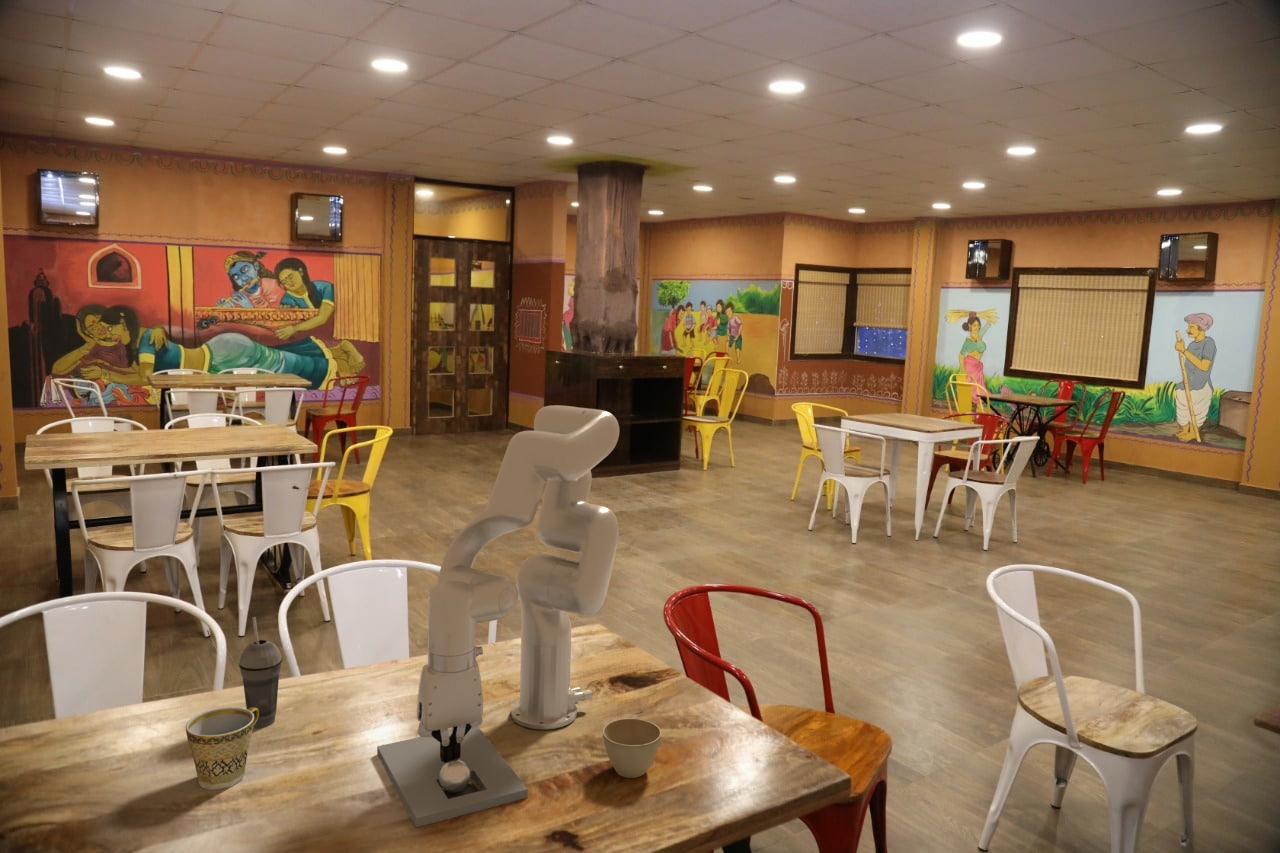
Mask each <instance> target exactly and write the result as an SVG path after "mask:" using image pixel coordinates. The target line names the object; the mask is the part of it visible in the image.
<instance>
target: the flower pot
mask: <svg viewBox="0 0 1280 853" xmlns="http://www.w3.org/2000/svg"><path fill="white" fill-rule="evenodd" d="M602 738H603V744H604V749H605V751H606V754H607V757H608V759H609V761H610V764H611V765H612V767H613V768H614V771H615V772H616V773H617V774H618V775H619V776H621V777H623V778H626V779H627V778H628V779H635V778H639V777H641V776H644V775H645V773H646V772H647V771H648V770H649V768H650V766H651V765H652V763H653V761H654V760H655V757H656V755H657V752H658V750H659V746H660V743H661V738H662V730H661V728H660V727H659V726H658V725H656V723H654V722H651V721H649V720H647V719H641V718H632V717H630V718H629V717H628V718H619V719H615V720H612V721H610V722H608V723H607V724H605V726H604V727H603V729H602Z"/></svg>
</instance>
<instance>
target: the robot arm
mask: <svg viewBox="0 0 1280 853" xmlns="http://www.w3.org/2000/svg"><path fill="white" fill-rule="evenodd" d="M619 436H620V425H619V422H618V420H617V418H616V417H615V415H613V414H612V413H611V412H609V411H607V410H603V409H598V408H597V409H596V408H586V407H577V406H569V405H558V404H557V405H556V404H555V405H547V406H543V407H542V408H539V409H538V411H537V412H536V414H535V416H534V420H533V430H523V431H520V432H517V433H516V434H514V435H513V436H512V438H510V441H509V442H508V445H507V448H506V450H505V453H504V457H503V459H502V462H501V465H500V467H499V471H498V474H497V476H496V480H495V482H494V485H493V488H492V491H491V494H490V496H489V499H488V502H487V504H486V506H485V508H484V510H483V511H481V512H480V513H478V515H476V516H475V517H473V519H471V520H470V521H469V522H468V523H467V524H466V525H464V526H463V527H462V529H461V530H460V531H459V532H458V533H457V534H456V535H455V537H453V539H452V541H451V543H449V546H448V548H447V550H446V552H445V555H444V558H443V561H442V563H441V567H440V570H439V573H438V575H437V576H438V577H437V578H436V584H435V585H434V586H432V587H431V588H430V590H429V593H428V600H427V602H428V603H427V604H428V606H427V608H428V609H427V611H428V613H427V617H428V618H427V619H428V620H427V664H423V666H422V669H421V671H420V672H421V673H420V678H419V684H418V694H417V702H416V719H417V721H418V722H419V723H418V728H417V734H418V736H419V737H433V738H435V739H436V740H437V741H439V742H440V759H441V761H442V762H444V763H445V764H446V763H447V762H449V761H451V760H458V758H460V752H461V742H463V739H464V736H465V735H466V734H467V733H468V732H469V731H470V729H471V728H474V727H477V726H478V727H479V726H481V725H482V724H483V721H484V720H483V714H484V712H483V711H484V697H483V686H482V677H481V671H480V666H479V663H478V662H477V657H478V656H479V655H484V654H483V653H484V650H483V649H484V648H483V646H482V645H481V646H476V626H477V625H478V624H481V623H487V622H494V621H496V620H500V619H503V618H504V617H507V616H508V615H509V614H510V613H511V612H512V611H513V610H514V609H515V607H516V605H517V602H518V599H519V604H520V605H519V606H520V615H521V616H520V617H521V631H520V632H521V636H520V676H519V677H520V680H519V700H518V701H516V703H514V705H513V706H512V708H511V718H512V720H513V721H514V722H515V723H516V724H518V725H520V726H522V727H525V728H528V729H532V730H545V731H546V730H554V729H559V728H563V727H565V726H567V725H569V724H571V723H573V722H574V721H575V720H576V718H577V716H578V707H577V706H576V705H577V704H579V702H585V701H590V700H592V699H593V692H592V690H591V689H586V690H581V687H579V686H577V687H573V688H571V659H572V656H571V655H572V654H571V653H572V652H571V651H572V624H571V620H570V617H569V613H571V614H574V615H579V616H585V617H586V616H592V615H595V614H596V613H597V612H599V611H600V609H601V608H602V607H603V605H604V602H605V599H606V597H607V593H608V590H609V585H610V581H611V575H612V571H613V566H614V561H615V556H616V552H617V547H618V541H619V536H620V535H619V533H620V532H619V531H620V529H619V521H618V518H617V516H616V514H615V513H614V512H613V511H612V510H611V509H610V508H608V507H606V506H603V505H600V504H599V505H598V504H593V503H589V497H590V493H591V488H592V481H593V480H592V477H593V476H592V471H591V470H592V469H593V468H595V467H596V466H597V465H598V464H600V462H602V461H603V460H604V459H605V458H607V457H608V456H609V455H610V454H611V452H612V451H613V450H614V449H615V447H616V445H617V443H618V441H619ZM543 492H544V493H543ZM542 495H543V498H542V501H541V497H542ZM540 502H541V507H540V510H539V511H540V512H539V515H538V519H537V520H538V522H537V527H536V533H537V538H538V540H539V542H541V543H542V544H543V545H545V546H547V547H550V548H553V549H557V550H562V551H566V552H572V553H576V554H579V555H580V557H579V560H574V559H571V558H568V557H562V556H558V555H553V554H548V553H547V554H546V553H537V554H533V555H531V556H528V557H527V558H526V559H525V560H523V562H522V563H521V564H520V566H519V568H518V571H517V575H516V584H515V582H514V581H512V580H511V579H510V578H509V577H507V576H504V575H501V574H496V573H491V572H488V571H485V570H479V569H476V568H473V566H474V563H475V561H476V559H477V557H478V556H479V555H480V552H481V551H482V550H483V548H485V547H486V546H487V545H488V544H489V543H490V542H492V541H493V540H495V539H497V538H499V537H501V536H504V535H507V534H509V533H512V532H515V531H518V530H523V529H525V528H528V527H530V526H531V525H532V524H533V522H534V520H535V516H536V514H537V510H538V507H539V504H540ZM451 728H452V729H451ZM449 729H451V730H452V732H451V736H449V734H448V731H449Z"/></svg>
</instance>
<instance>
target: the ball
mask: <svg viewBox="0 0 1280 853" xmlns="http://www.w3.org/2000/svg"><path fill="white" fill-rule="evenodd" d="M470 777H471V773H470V769H469V767H468V765H467V764H466V763H465V762H463V761H461V760H451V761H449V762H447V763H446V764H445V765H444V766H443V767H442V768H441V770H440V773H439V782H440V785H441V786H442V787H441V789H442V790H443V791H447V792H450V793H458V792H460V791H462V790H464V789H465V788H466V787H467V785H468V784H470V782H471V780H470Z"/></svg>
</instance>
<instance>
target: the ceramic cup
mask: <svg viewBox="0 0 1280 853" xmlns="http://www.w3.org/2000/svg"><path fill="white" fill-rule="evenodd" d="M254 711H255V712H256V715H255V718H254V714H253V713H252V712H254ZM258 717H259V710H258V709H257V708H255V707H251V708H248V709H246V708H242V707H233V706H232V707H231V706H229V707H221V708H220V707H219V708H215V709H211V710H210V709H209V710H207V711H203V712H202V713H201V712H200V714H199V713H198V714H197V715H195V716H194V717H192V718H190V719H189V720H188V722H186V723H185V724H186V725H185V732H186V737H187V743H188V747H189V749H190V753H191V755H192V758H193V763H194V766H195V771H196V772H195V773H196V775H197V780H198V784H199V786H200V788H203V789H206V790H209V791H217V790H223V789H227V788H228V789H229V788H231V787H233V786H234V785H236V784H238V783H239V782H241V781H242V780H243V779H244V777H245V773H246V765H247V759H248V752H249V748H250V743H251V739H252V735H253V730H254V727H253V726H254V725H255V723H256V722H257V720H258Z"/></svg>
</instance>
